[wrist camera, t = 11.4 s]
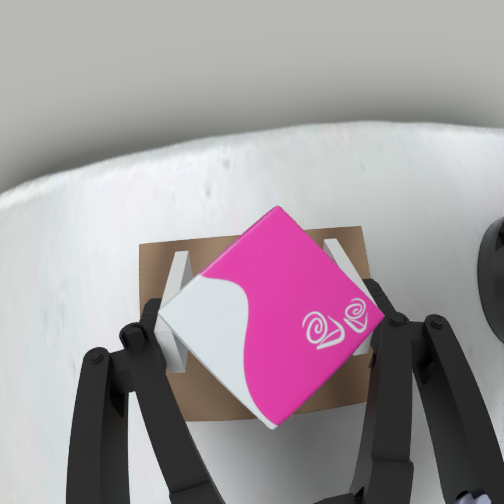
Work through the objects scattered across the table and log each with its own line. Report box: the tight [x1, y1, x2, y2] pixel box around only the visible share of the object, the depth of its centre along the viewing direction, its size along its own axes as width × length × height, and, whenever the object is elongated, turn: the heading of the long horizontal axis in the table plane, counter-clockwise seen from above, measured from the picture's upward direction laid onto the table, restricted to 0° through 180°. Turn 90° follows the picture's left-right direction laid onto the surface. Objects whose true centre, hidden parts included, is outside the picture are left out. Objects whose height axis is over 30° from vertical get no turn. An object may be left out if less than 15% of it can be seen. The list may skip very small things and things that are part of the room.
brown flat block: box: [139, 226, 373, 421], centre depth 23 cm, size 18×14×2 cm
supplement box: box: [158, 206, 385, 430], centre depth 15 cm, size 6×6×12 cm
